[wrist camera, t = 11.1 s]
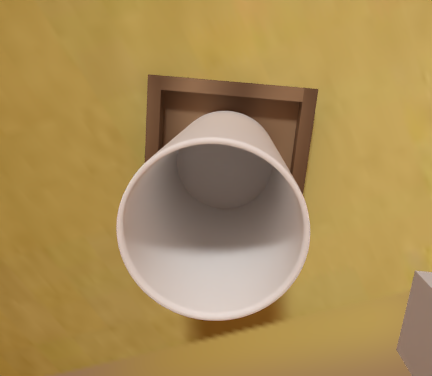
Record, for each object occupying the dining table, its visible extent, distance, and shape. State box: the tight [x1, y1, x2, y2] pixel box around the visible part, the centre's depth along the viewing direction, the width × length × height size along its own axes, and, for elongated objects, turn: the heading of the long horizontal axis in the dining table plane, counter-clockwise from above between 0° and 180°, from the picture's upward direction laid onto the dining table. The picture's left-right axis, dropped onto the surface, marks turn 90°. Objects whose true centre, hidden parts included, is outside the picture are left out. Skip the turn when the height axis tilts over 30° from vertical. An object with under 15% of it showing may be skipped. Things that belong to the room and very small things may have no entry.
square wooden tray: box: [145, 75, 318, 195], centre depth 32 cm, size 12×12×2 cm
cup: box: [117, 111, 310, 321], centre depth 24 cm, size 8×8×16 cm
